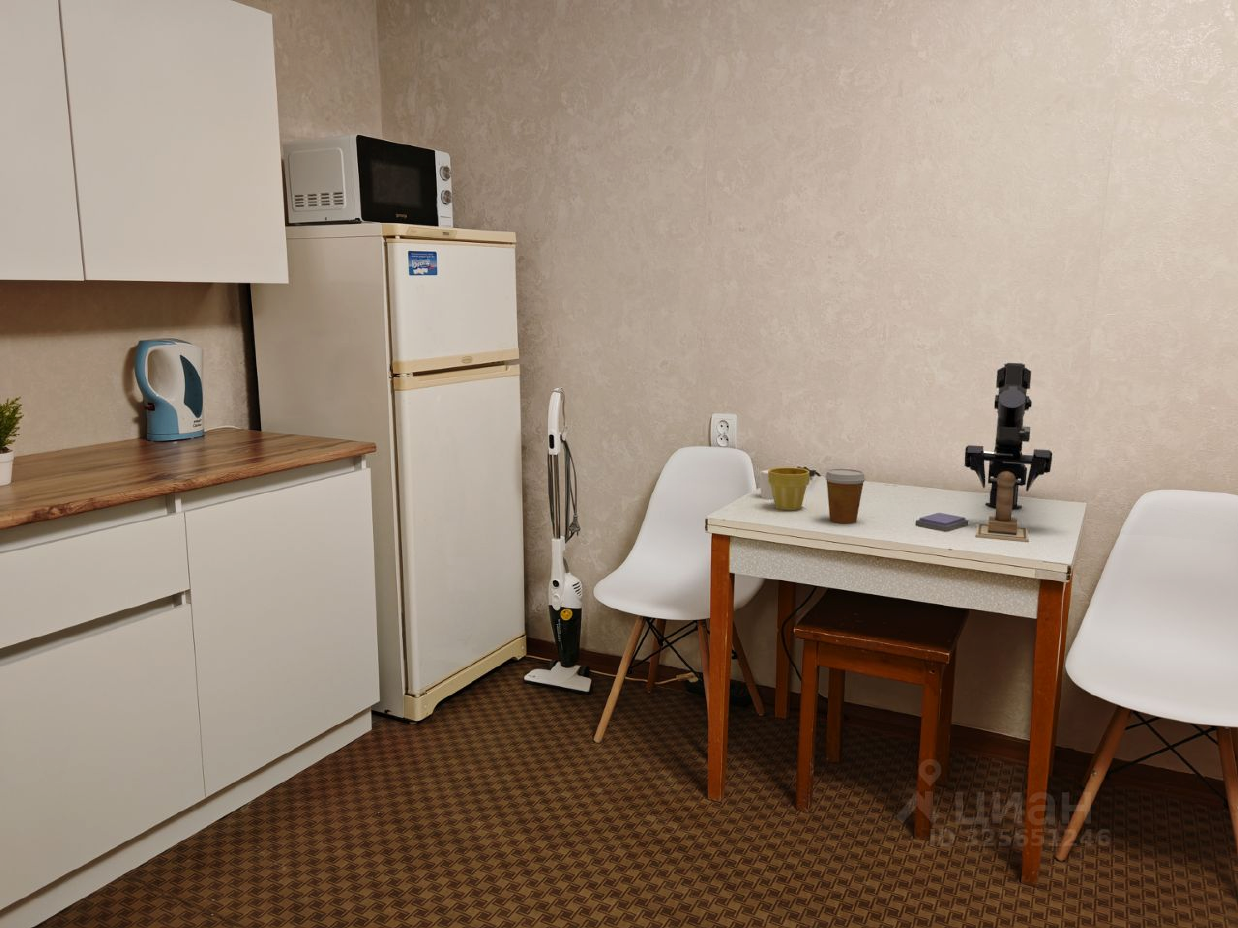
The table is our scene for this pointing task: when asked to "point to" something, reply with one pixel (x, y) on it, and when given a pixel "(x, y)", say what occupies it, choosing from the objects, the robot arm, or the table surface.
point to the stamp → (1004, 506)
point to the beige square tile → (1020, 536)
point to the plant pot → (788, 486)
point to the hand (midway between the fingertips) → (1005, 488)
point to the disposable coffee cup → (844, 494)
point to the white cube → (765, 485)
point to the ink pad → (942, 522)
